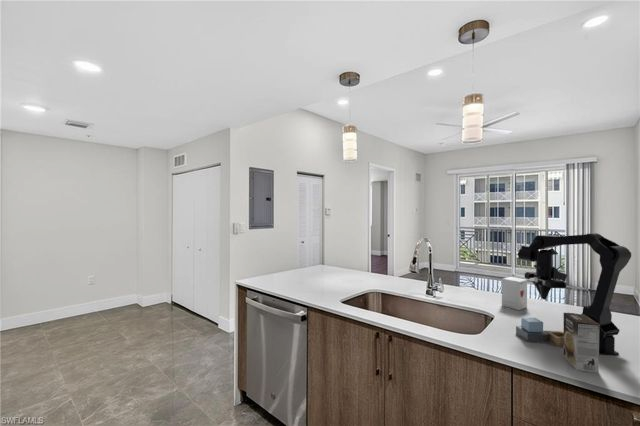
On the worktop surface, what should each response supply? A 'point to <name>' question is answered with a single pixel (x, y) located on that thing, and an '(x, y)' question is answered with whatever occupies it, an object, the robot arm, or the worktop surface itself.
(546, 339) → the port
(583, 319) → the coffee box
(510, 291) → the supplement box
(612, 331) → the robot arm
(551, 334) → the tan shallow tray
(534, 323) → the plug
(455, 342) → the worktop surface
